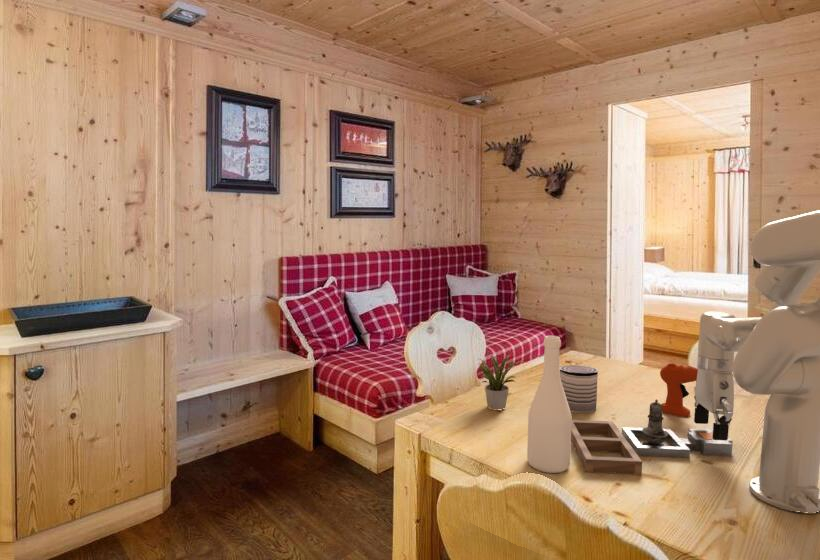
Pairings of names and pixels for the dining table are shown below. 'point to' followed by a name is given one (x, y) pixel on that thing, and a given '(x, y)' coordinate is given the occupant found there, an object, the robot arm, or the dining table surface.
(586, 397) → the can
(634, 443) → the grey flat frame piece
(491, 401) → the house plant
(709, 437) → the button
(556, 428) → the wine bottle
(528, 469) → the dining table surface
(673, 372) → the toy drill
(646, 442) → the chess piece
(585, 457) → the walnut rack
